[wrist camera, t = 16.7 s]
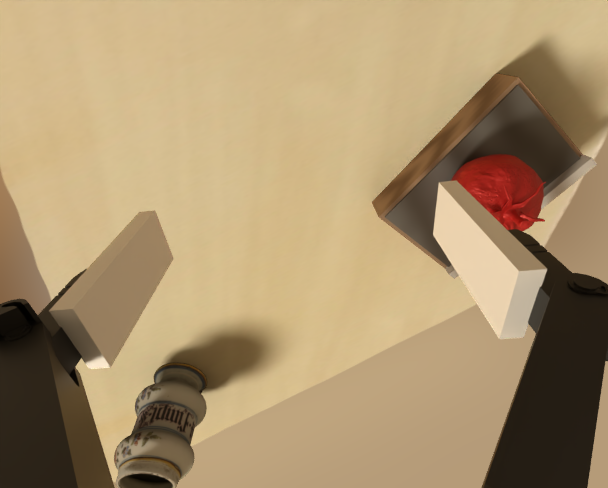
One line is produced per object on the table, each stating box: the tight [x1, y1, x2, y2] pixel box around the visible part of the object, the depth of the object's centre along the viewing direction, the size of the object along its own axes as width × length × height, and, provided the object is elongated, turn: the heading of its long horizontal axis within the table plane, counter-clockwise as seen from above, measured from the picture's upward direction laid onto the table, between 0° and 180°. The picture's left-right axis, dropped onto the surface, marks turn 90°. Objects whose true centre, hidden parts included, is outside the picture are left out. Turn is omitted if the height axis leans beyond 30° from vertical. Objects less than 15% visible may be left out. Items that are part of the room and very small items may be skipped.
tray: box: [372, 74, 597, 279], centre depth 42 cm, size 20×14×6 cm
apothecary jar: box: [114, 363, 207, 488], centre depth 56 cm, size 12×12×18 cm
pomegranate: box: [451, 154, 546, 231], centre depth 36 cm, size 10×10×9 cm
